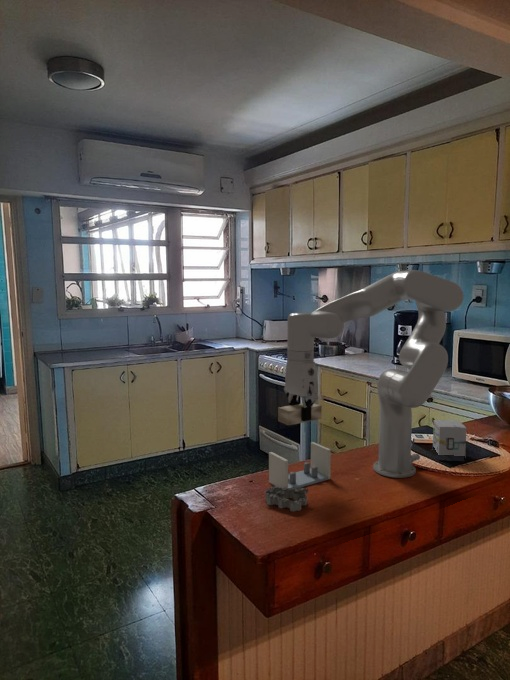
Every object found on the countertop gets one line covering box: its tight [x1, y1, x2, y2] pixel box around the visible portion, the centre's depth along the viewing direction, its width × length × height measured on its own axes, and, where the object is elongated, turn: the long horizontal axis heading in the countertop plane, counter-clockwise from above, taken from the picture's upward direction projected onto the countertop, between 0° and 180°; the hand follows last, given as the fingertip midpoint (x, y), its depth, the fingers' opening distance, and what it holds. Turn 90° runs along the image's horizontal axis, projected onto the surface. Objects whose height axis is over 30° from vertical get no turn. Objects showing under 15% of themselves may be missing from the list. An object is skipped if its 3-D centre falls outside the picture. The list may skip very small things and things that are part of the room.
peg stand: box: [268, 441, 332, 489], centre depth 138 cm, size 17×8×9 cm, turn 122°
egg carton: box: [263, 485, 309, 512], centre depth 124 cm, size 11×8×4 cm
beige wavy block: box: [277, 402, 323, 426], centre depth 136 cm, size 12×5×4 cm, turn 123°
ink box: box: [432, 419, 467, 457], centre depth 156 cm, size 8×8×12 cm
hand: (300, 417), depth 136 cm, fingers closed on beige wavy block, 5 cm apart
